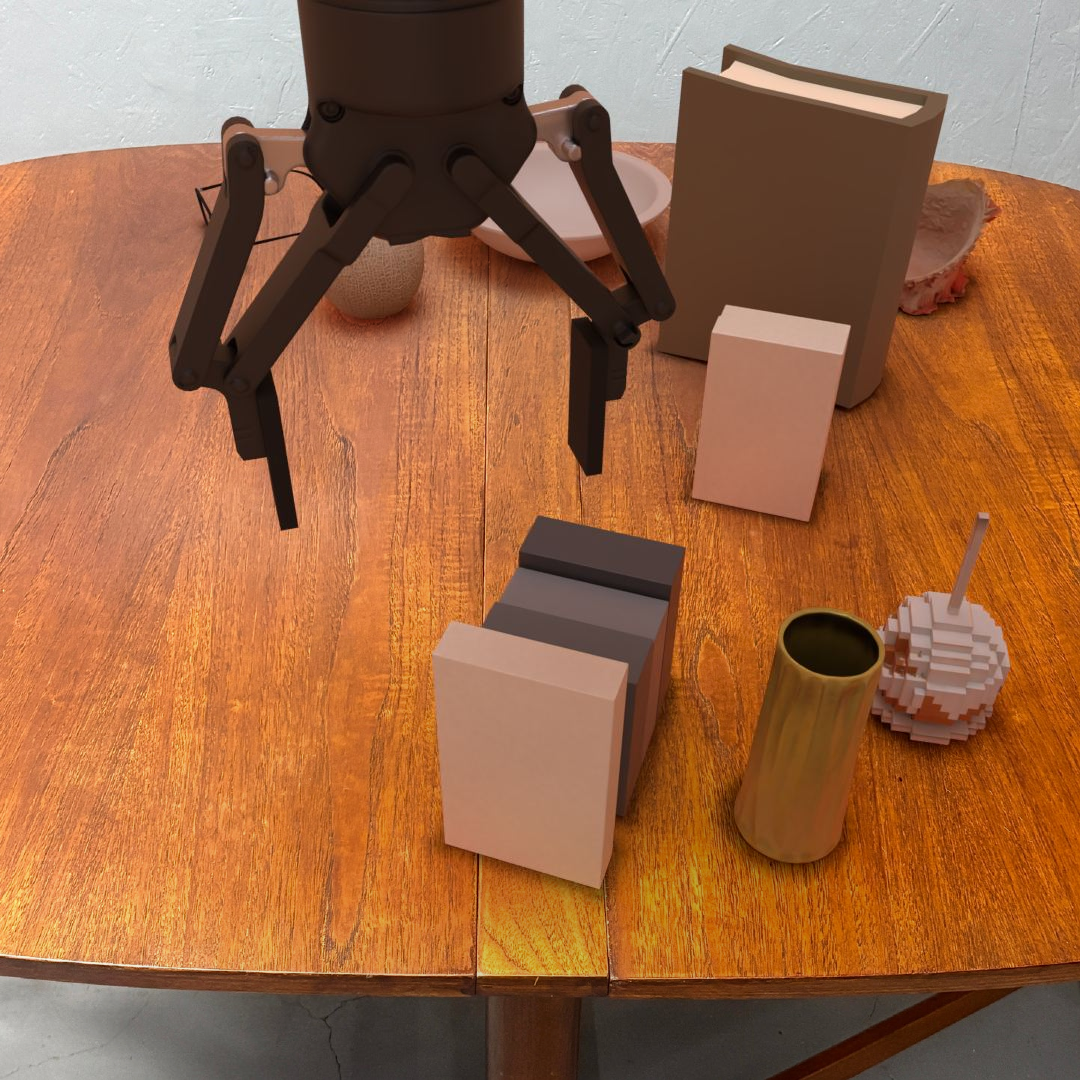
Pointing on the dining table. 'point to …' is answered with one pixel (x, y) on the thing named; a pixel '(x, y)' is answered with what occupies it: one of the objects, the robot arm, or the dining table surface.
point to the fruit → (379, 280)
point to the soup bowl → (578, 202)
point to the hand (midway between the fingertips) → (439, 484)
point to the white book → (529, 750)
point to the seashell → (945, 242)
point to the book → (796, 203)
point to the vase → (809, 734)
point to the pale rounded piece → (942, 660)
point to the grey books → (601, 614)
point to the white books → (767, 410)
